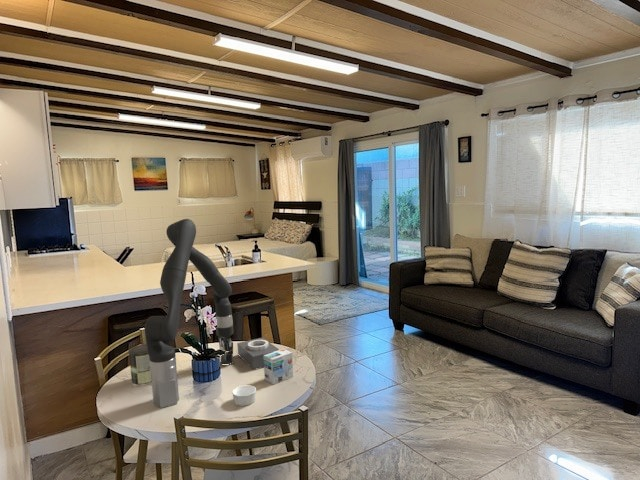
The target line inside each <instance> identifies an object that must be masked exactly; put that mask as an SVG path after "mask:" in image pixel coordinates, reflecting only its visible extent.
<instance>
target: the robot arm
mask: <svg viewBox="0 0 640 480" xmlns="http://www.w3.org/2000/svg"><path fill="white" fill-rule="evenodd" d="M166 237H167V238H168V240H169V241H170V243H172V245H173V246H174V248H173V251H172V252H171V254H170V255H169V256H168V258H167V260H166V261H165V263H164V266H163V267H162V271H161V277H160V280H159V284H160V288H161V290H162V293H163V296H165V300H166V301H167V307H168V309H167V314H166V315H152V316H149V317H148V318H147V319H146V321H145V324H144V336H145V338H144V339H145V343H146V344H147V351H148V355H149V359H150V370H151V381H152V383H151V389H152V390H151V391H152V401H153V405H154V406H155V407H159V408H160V409H162V408H166V407H169V406H173V405H177V404H178V401H179V400H180V396H179V395H180V393H179V381H178V370H177V356H176V349H175V348H174V347H173V346H171V345H168V344H166V343H164V342H172V341H174V340H175V339H176V337H177V335H178V331H179V323H180V312H181V304H182V297H183V292H184V287H185V283H186V278H187V274H188V272H187V271H188V266H189V262H191V263H192V264H193V266H194V267H195V268H196V270H197V271H198V272H199V274H201V276H202V277H203V279H204V280H205V281H206V282H207V283H208V284H209V285H210V286H211V288H212V297H213V301H214V306H215V310H214V311H215V320H216V319H217V327H216V326H215V329H216V330H215V331H216V336H217V338H218V345H219V347H220V346H223V348H224V350H228V351H229V350H230V352H228V353H226V362H227V363H230V362H231V361H232V360H231V354H234V342H233V341H232V338H231V336H232V335H233V334H234V321H233V314H232V304H231V302H230V300H229V297H230V296H231V295H232V293H233V292H232V291H233V289H232V285H231V284H230V283H229V282H228V280H227V278H225V277H224V275H222V273H221V272H220V271H219V269H218V267H217V266H216V265H215V263H214V262H213V261H212V259H210V257H209V256H207V255H206V254H205V253H202V252H201V251H199V250H198V249H196V247H194V246H193V245H194V242H195V240H196V237H197V227H196V224H195V222H194V221H193V220H192V219H189V218H183V219H180V220H179V221H176V222H174V223H171V224H169V225H168V226H167V228H166ZM225 347H227V348H225Z"/></svg>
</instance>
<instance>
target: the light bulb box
mask: <svg viewBox="0 0 640 480" xmlns="http://www.w3.org/2000/svg"><path fill="white" fill-rule="evenodd" d="M263 356H264V367H263V371H264V372H263V374H264V380H265V381H267V382H268V383H269V384H271V385H276V384H278V383H280V382H283V381H286V380H288V379H289V380H290V379H292V378H294V366H293V365H294V364H293V363H294V362H293V352H292V351H289V350H287V349H286V348H281V349H279V350H278V351H275V352H272V353H269V354H266V355H263Z"/></svg>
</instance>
